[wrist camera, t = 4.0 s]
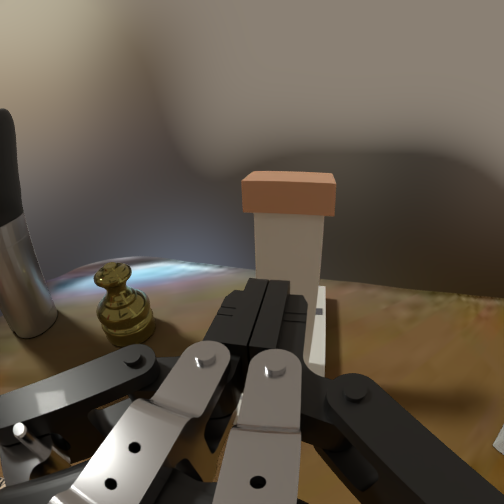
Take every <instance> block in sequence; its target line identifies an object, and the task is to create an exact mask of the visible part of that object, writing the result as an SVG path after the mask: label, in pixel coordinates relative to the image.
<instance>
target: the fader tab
mask: <svg viewBox="0 0 504 504" xmlns="http://www.w3.org/2000/svg"><path fill="white" fill-rule="evenodd" d="M335 196H336V182H335V179H334V177H333V174H331V173H314V172H285V171H282V172H281V171H254V172H252V173H251V174H249V175H248V176H247V177H246V178H244V179H243V180H242V200H243V212H252V213H254V230H255V258H256V279H269V281H270V280H286V281H290V294H294V295H303V296H304V298H305V300H306V301H307V303H308V310H307V321H306V332H305V342H304V352H303V359H304V362H305V364H306V366H307V367H308V364H309V358H310V351H311V344H312V337H313V330H314V322H315V314H316V305H317V297H318V287H319V277H320V266H321V255H322V242H323V227H324V216H334V214H335V212H334V211H335Z"/></svg>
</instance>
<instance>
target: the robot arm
mask: <svg viewBox="0 0 504 504" xmlns="http://www.w3.org/2000/svg"><path fill="white" fill-rule="evenodd" d="M0 309H1V311H2V313H3V315H4V317H5V319H6V321H7V323H8V325H9V327H10V329H11V330H12V331H15V332H16V334H17V335H18V336H19V337H21V338H31V337H35V336H37V335H39V334H41V333H43V332H45V331H46V330H47V329H48V328H49V327H50V326H51V325H52V324H53V323H54V321H55V320H56V318H57V309H56V307H55V305H54V302H53V300H52V298H51V295H50V293H49V290H48V287H47V285H46V282H45V280H44V277H43V274H42V271H41V269H40V266H39V263H38V260H37V257H36V254H35V251H34V248H33V244H32V241H31V238H30V234H29V231H28V227H27V223H26V220H25V215H24V212H23V207H22V200H21V188H20V181H19V174H18V164H17V148H16V134H15V127H14V122H13V119H12V116H11V114H10V113H9V111H8V110H6V109H0ZM307 310H308V303H307V301H306V300H305V298H304V296H303V295H294V294H290V281H286V280H270V281H269V279H255V278H249V280H248V282H247V284H246V287H245V289H244V291H240V290H234V291H233V292H232V293H230V294H229V295H228V296H226V297H225V299H224V301H223V303H222V305H221V308H219V310H218V312H217V315H216V316H215V318H214V320H213V322H212V324H211V326H210V327H209V329H208V331H207V333H206V335H205V337H204V339H203V341H201V342H197V343H195V344H192V345H191V346H189V347H188V348H187V349H186V350H185V351H184V352H183V354H182V355H181V356H178V357H160V358H156V356H155V353H154V351H153V350H152V349H151V348H150V347H148V346H146V345H142V344H133V345H129V346H126V347H124V348H121V349H119V350H117V351H114V352H112V353H109V354H107V355H105V356H102V357H100V358H97V359H95V360H92V361H90V362H87V363H85V364H83V365H80V366H78V367H75V368H72V369H70V370H67V371H65V372H62V373H60V374H57V375H55V376H52V377H49V378H47V379H44V380H41V381H39V382H36V383H33V384H31V385H28V386H25V387H23V388H20V389H17V390H14V391H11V392H9V393H6V394H3V395H0V458H1V465H2V470H3V476H4V480H5V485H6V487H3V488H2V489H0V504H308V503H307V502H305V501H302V500H300V499H298V498H297V492H298V480H299V466H300V450H301V441H303V442H306V443H308V444H311V445H313V446H314V448H315V450H316V451H317V453H318V454H319V455H320V456H321V457H322V459H323V460H324V461H325V462H326V464H327V465H328V466H329V467H330V468H331V470H332V471H333V472H334V473H335V474H336V475H337V477H338V478H339V479H340V480H341V481H342V482H343V484H344V485H345V486H346V487H347V488H348V489H349V490H350V492H351V493H352V494H353V495H354V496H355V497H356V498H357V499H358V500H359V502H360V503H361V504H504V495H503V494H502V493H501V492H500V491H498V490H497V489H496V488H495V487H494V486H493V485H491V484H490V483H489V482H488V481H487V480H485V479H484V478H483V477H482V476H481V475H480V474H478V473H477V472H476V471H475V470H474V469H473V468H471V467H470V466H469V465H468V464H467V463H466V462H464V461H463V460H462V459H461V458H460V457H459V456H457V455H456V454H455V453H454V452H453V451H452V450H451V449H449V448H448V447H447V446H446V445H445V444H444V443H443V442H441V441H440V440H439V439H438V438H437V437H436V436H435V435H433V434H432V433H431V432H430V431H429V430H428V429H427V428H426V427H424V426H423V425H422V424H421V423H420V422H419V421H418V420H416V419H415V418H414V417H413V416H412V415H411V414H410V413H409V412H408V411H406V410H405V409H404V408H403V407H402V406H401V405H400V404H399V403H397V402H396V401H395V400H394V399H393V398H392V397H391V396H390V395H389V394H387V393H386V392H385V391H384V390H383V389H382V388H381V387H380V386H379V385H377V384H376V383H375V382H374V381H373V380H372V379H370V378H369V377H367V376H364V375H361V374H356V373H349V374H344V375H341V376H338V377H337V378H335V379H334V380H331V379H328V378H325V377H322V376H319V375H317V374H315V373H314V372H312V371H311V370H310V369H309V368H308V367H307V366H306V364H305V362H304V359H303V352H304V342H305V332H306V321H307ZM242 393H243V397H242V402H241V407H240V411H239V416H238V420H237V423H236V425H235V426H233V427H232V425H233V423H234V420H235V418H236V415H237V413H238V403H239V400H240V397H241V394H242ZM126 395H128V396H129V398H128V399H126V400H124V401H121V402H119V403H117V404H114V405H112V406H110V407H107V408H105V409H102V410H97V409H95V408H98V407H100V406H103V405H105V404H107V403H110V402H112V401H114V400H117V399H119V398H121V397H124V396H126ZM231 427H232V428H231ZM230 429H231V430H230ZM229 432H230V433H229ZM228 434H229V437H228V441H227V445H226V449H225V453H224V458H223V462H222V466H221V470H220V474H219V478H218V482H212V481H213V479H214V477H215V474H216V469H217V461H218V457H219V455H220V452H221V450H222V448H223V446H224V443H225V441H226V439H227V436H228ZM92 456H93V457H92ZM90 457H92V458H91V459H90V460H87V461H85V462H82V463H80V464H77V465H75V466H71V465H70V464H72V463H75V462H78V461H81V460H84V459H87V458H90Z"/></svg>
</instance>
